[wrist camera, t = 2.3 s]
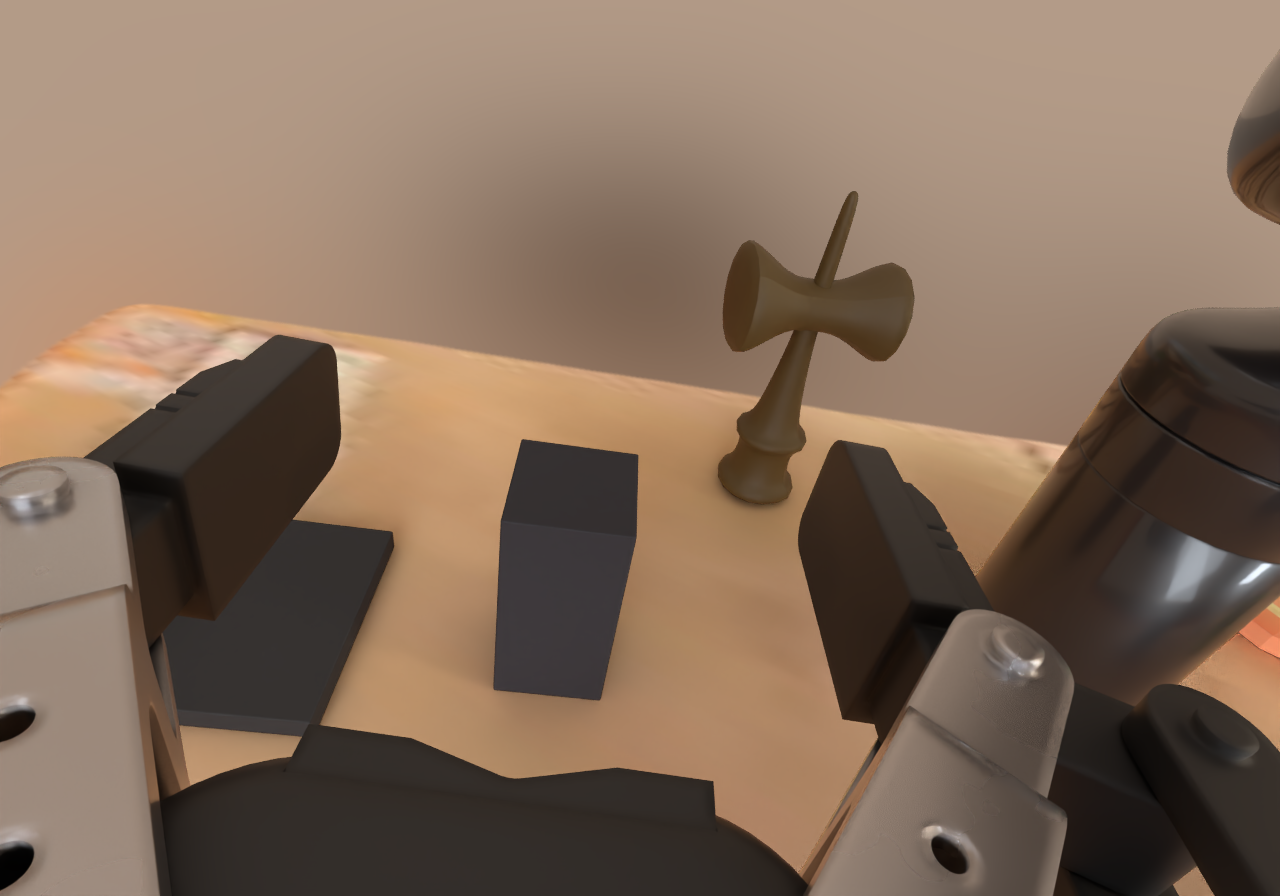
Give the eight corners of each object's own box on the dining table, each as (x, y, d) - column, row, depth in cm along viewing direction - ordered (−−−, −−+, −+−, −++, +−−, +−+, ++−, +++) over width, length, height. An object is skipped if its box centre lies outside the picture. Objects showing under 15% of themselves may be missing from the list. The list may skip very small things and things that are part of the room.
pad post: (605, 614, 35) (638, 454, 28) (600, 700, 31) (636, 537, 24) (511, 603, 34) (521, 438, 28) (493, 690, 31) (500, 521, 24)
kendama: (678, 452, 47) (751, 160, 35) (805, 461, 49) (917, 185, 37) (690, 511, 42) (779, 197, 30) (830, 519, 44) (968, 224, 32)
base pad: (394, 546, 36) (389, 496, 34) (314, 738, 28) (300, 689, 25) (46, 505, 35) (17, 450, 32) (-157, 695, 26) (-216, 638, 24)
